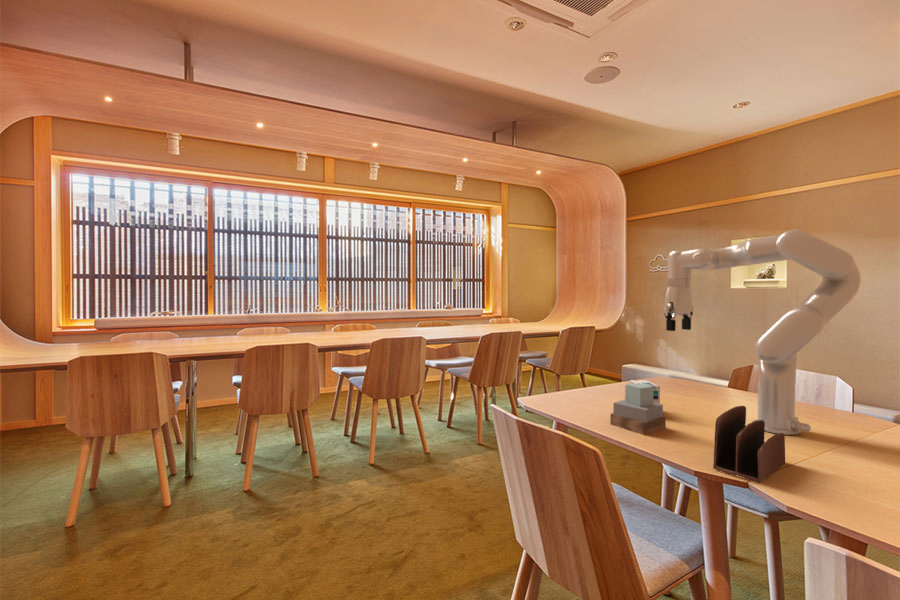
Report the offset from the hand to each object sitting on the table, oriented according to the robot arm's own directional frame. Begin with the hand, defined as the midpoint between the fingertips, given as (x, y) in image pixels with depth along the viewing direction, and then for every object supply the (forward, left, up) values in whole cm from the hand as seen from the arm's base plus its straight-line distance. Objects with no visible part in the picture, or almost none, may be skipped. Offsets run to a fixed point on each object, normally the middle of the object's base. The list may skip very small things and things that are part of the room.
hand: (678, 330), depth 156 cm
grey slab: (-4, +29, -27) cm, 39 cm away
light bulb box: (+6, +11, -31) cm, 33 cm away
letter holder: (-38, +32, -31) cm, 59 cm away
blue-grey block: (-4, +28, -23) cm, 37 cm away
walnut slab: (-4, +29, -31) cm, 42 cm away
